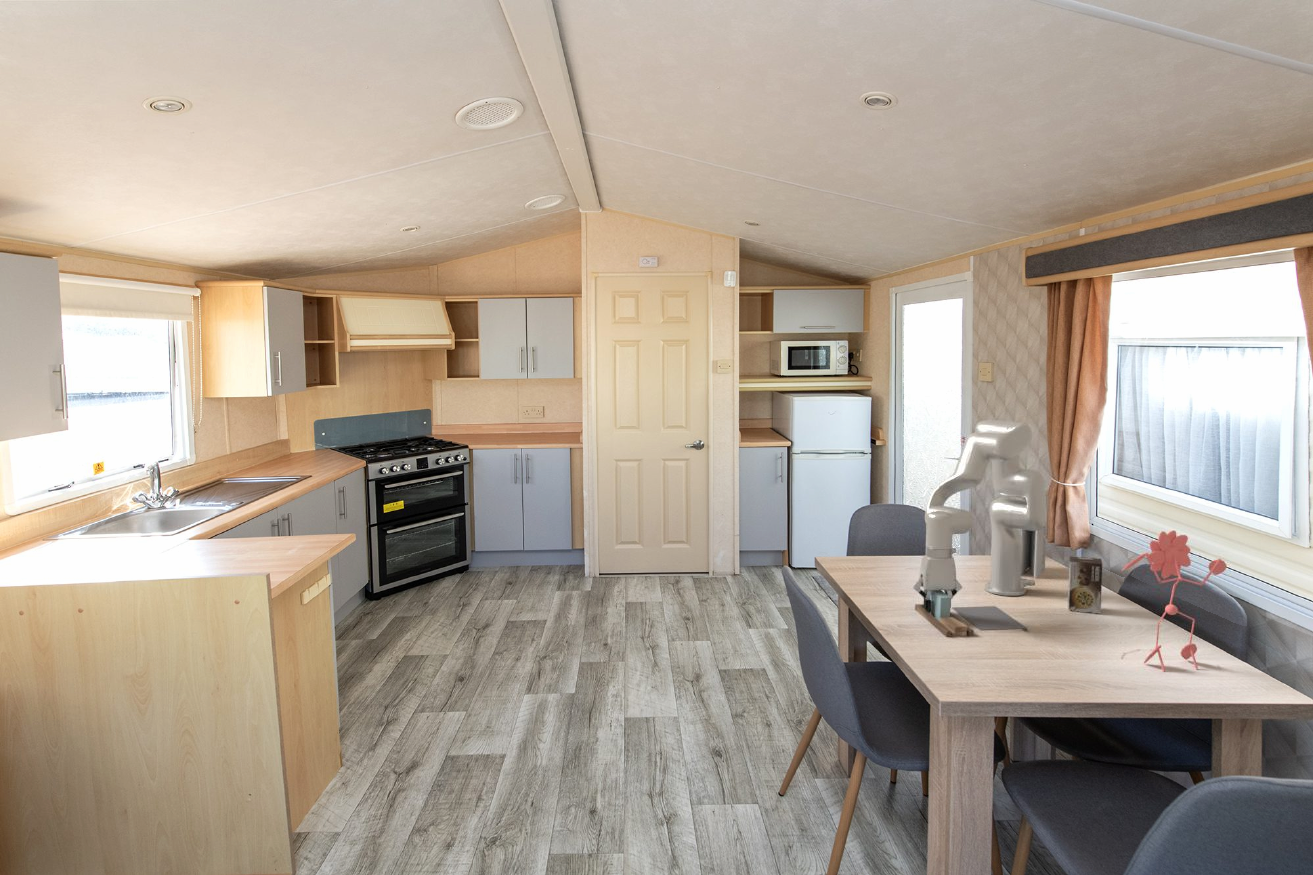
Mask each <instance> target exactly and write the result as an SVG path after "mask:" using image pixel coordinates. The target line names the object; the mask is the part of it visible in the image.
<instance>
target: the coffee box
mask: <svg viewBox="0 0 1313 875" xmlns="http://www.w3.org/2000/svg"><path fill="white" fill-rule="evenodd" d="M1068 563H1069V565H1068V566H1069V568H1068V570H1069V571H1068V593H1067V610H1072V611H1071V612H1075V611H1079V612H1078V613H1085V612H1092V613H1091V614H1095V613H1098V614H1097V615H1101V613H1102V588H1103V587H1102V586H1103V584H1102V583H1103V567H1104V566H1103V561H1102V558H1095V557H1083V556H1072V555H1071V556H1069V562H1068Z"/></svg>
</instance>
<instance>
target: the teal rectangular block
mask: <svg viewBox="0 0 1313 875" xmlns="http://www.w3.org/2000/svg"><path fill="white" fill-rule="evenodd" d="M930 600H931V612H930V614H931V615H932V616H933V617H935V618H936V619H937V620H938V621H939V618H946V617H950V612H951V608H950V602H951V603H952V599H951V597H949V596H948V595H947V594H945V592H944V590H936V591H932V592H931V595H930Z"/></svg>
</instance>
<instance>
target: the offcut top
mask: <svg viewBox="0 0 1313 875" xmlns="http://www.w3.org/2000/svg"><path fill="white" fill-rule="evenodd" d="M939 622H940V623H942V624H943V625H944V626H945V627H946V628H948V629H950V630H951V631H953V632H955V633H956V632H965V631H967V627H969V626H968V625H967V624H966V623H965V624H966V625H967V626H966V625H965V624H963V623H964V622H963V623H961V622H960V621H958V620H956V619H954V618H953V617H946V618H939Z"/></svg>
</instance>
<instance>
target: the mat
mask: <svg viewBox="0 0 1313 875" xmlns="http://www.w3.org/2000/svg"><path fill="white" fill-rule="evenodd" d="M951 609H952V610H954V611H955V612H956V613H957V614H959V615H960V616H962V618H964V619H965V620H967V622H969V623H971V625H973V626H974V627H975V628H976V629H978V630H979V631H992V630H993V631H999V630H1001V631H1002V630H1005V631H1006V630H1021V631H1023V632H1028V627H1026V626H1025V625H1024V624H1022V623H1020V622H1019V621H1018V620H1016V619H1015V618H1013V617H1012V616H1011V615H1009V614H1008V613H1006V612H1004V611H1003V610H1002V609H1000V608H999V607H997V606H995V605H991V606H989V605H988V606H985V605H984V606H964V607H963V606H962V607H961V606H957V607H954V606H953V607H952V606H951Z"/></svg>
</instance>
